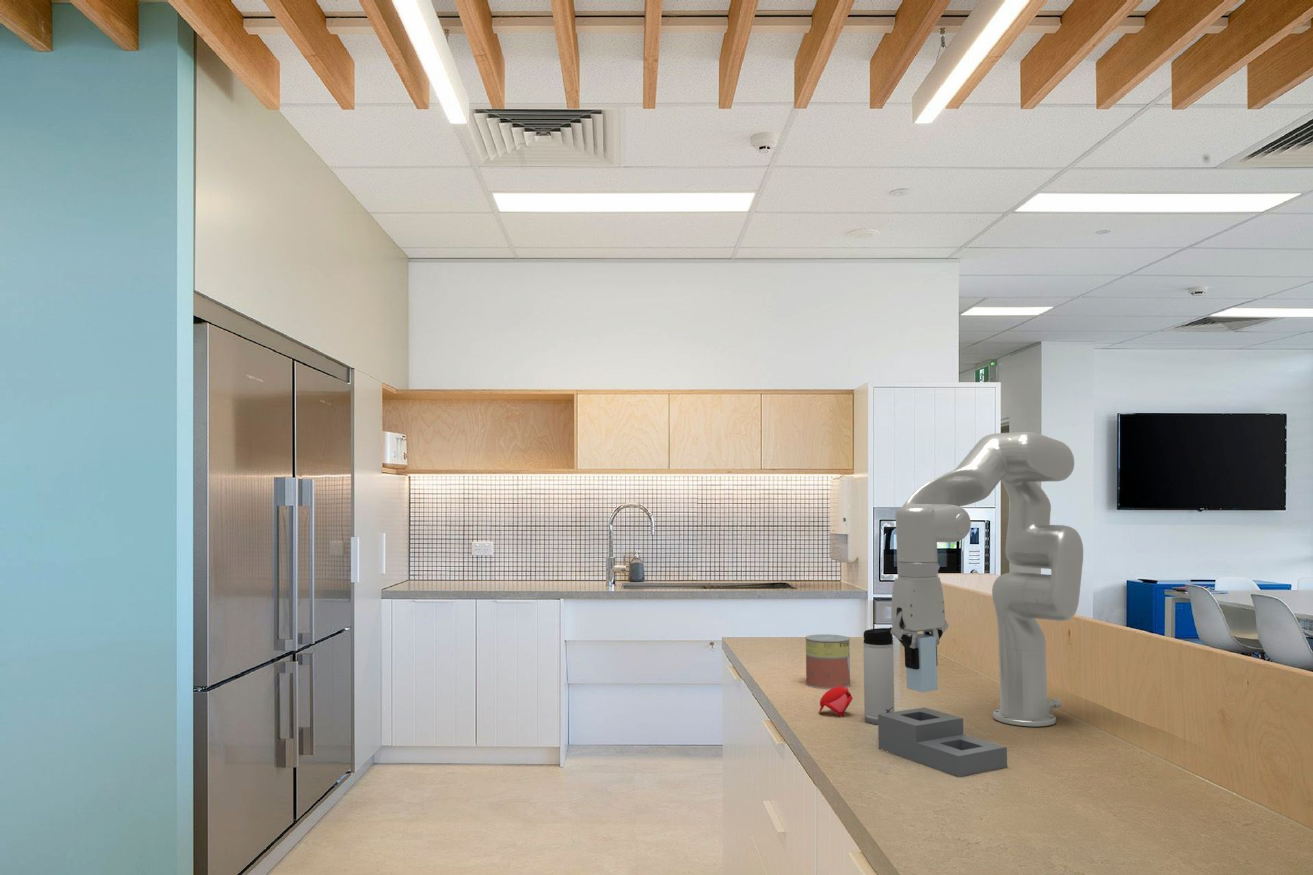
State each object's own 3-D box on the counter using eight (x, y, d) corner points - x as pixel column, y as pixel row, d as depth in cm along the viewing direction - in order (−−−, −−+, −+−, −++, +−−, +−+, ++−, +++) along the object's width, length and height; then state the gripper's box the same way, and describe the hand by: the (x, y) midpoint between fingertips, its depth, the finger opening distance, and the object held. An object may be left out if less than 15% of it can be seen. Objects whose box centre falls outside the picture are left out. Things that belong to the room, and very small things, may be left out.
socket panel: (924, 740, 179) (924, 707, 179) (1007, 766, 161) (1006, 729, 161) (878, 748, 173) (878, 714, 173) (958, 776, 155) (957, 738, 156)
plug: (919, 684, 176) (918, 633, 176) (937, 689, 172) (935, 636, 172) (904, 687, 174) (902, 635, 174) (922, 692, 170) (920, 638, 170)
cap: (854, 696, 204) (831, 681, 206) (857, 692, 199) (833, 677, 200) (836, 726, 202) (813, 711, 204) (838, 724, 196) (815, 707, 198)
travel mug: (897, 725, 190) (895, 629, 192) (865, 724, 192) (863, 629, 193) (895, 718, 196) (893, 625, 198) (864, 717, 198) (862, 625, 199)
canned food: (854, 689, 227) (853, 641, 228) (809, 689, 227) (809, 641, 228) (845, 680, 238) (845, 634, 239) (802, 680, 238) (802, 634, 239)
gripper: (934, 566, 181) (938, 658, 180) (871, 572, 173) (874, 668, 172) (963, 569, 174) (967, 665, 174) (898, 575, 167) (902, 675, 166)
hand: (921, 665), depth 173 cm, fingers closed on plug, 4 cm apart
